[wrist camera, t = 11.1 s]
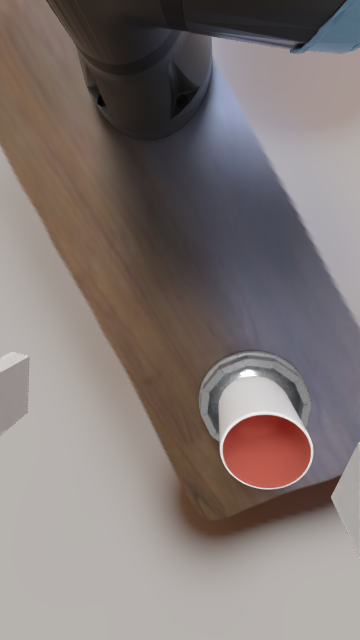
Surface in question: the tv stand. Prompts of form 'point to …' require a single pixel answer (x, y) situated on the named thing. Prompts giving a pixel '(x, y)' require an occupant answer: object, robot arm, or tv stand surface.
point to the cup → (262, 434)
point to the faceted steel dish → (250, 366)
